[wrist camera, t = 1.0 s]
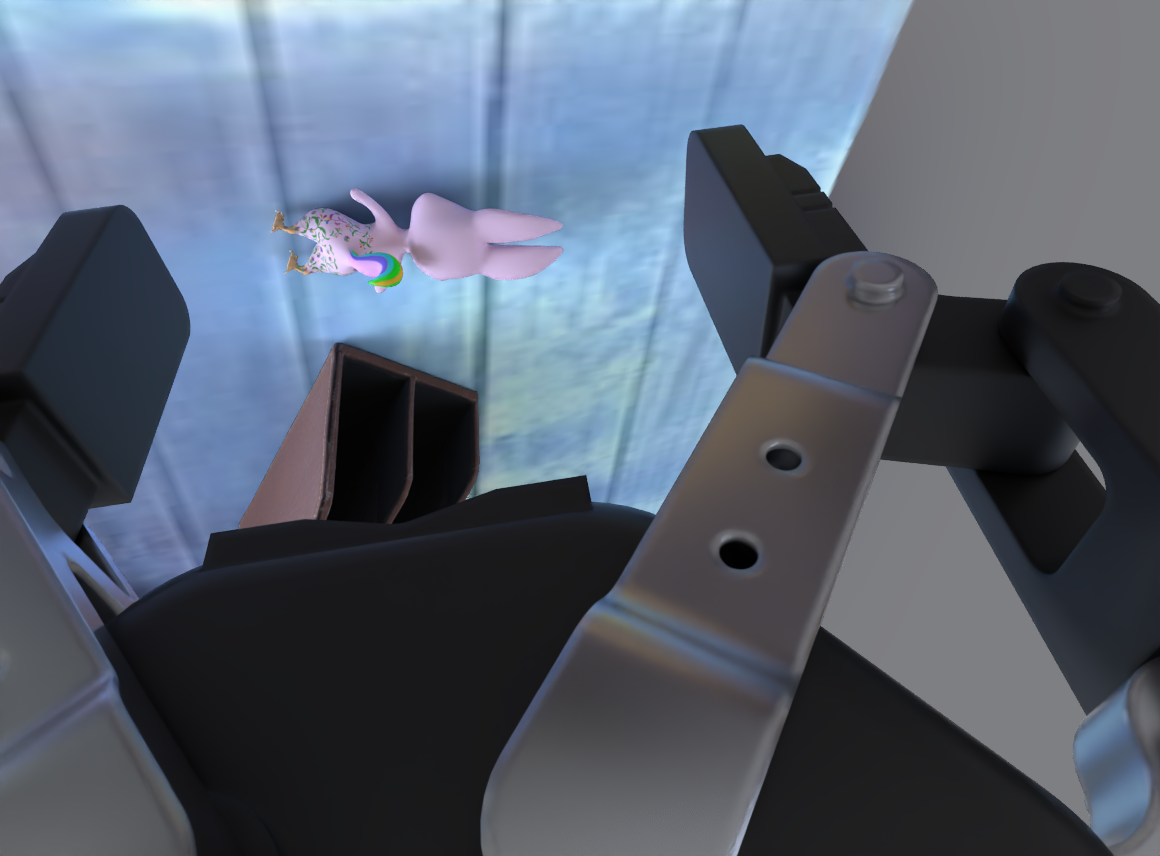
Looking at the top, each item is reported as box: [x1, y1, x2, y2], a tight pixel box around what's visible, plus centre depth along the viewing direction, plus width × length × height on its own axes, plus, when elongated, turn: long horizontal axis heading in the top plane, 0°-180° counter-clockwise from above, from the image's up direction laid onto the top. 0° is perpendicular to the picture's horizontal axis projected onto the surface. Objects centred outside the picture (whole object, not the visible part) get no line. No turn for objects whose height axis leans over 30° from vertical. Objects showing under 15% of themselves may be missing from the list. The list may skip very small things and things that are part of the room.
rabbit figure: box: [270, 188, 563, 293], centre depth 38 cm, size 6×6×15 cm
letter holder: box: [239, 343, 480, 529], centre depth 48 cm, size 10×20×14 cm, turn 146°
